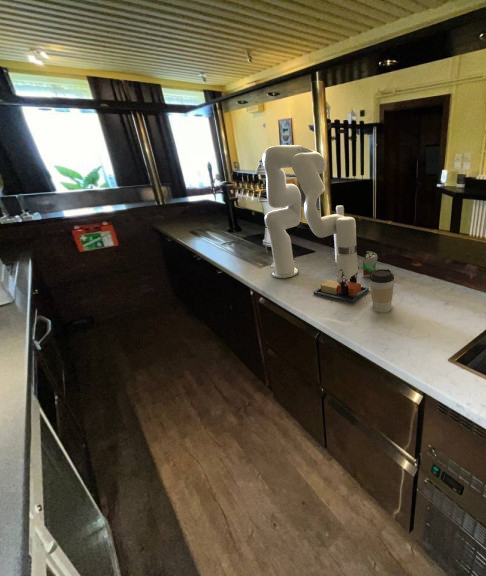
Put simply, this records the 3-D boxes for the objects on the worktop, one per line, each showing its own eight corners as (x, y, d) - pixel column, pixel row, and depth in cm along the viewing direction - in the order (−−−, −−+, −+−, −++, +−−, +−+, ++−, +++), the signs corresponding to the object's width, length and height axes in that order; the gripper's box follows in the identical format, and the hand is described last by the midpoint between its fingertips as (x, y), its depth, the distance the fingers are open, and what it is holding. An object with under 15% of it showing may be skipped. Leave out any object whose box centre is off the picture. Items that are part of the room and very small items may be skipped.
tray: (313, 295, 128) (313, 291, 127) (331, 283, 138) (331, 280, 137) (352, 304, 118) (352, 301, 118) (368, 291, 129) (368, 287, 128)
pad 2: (337, 292, 125) (336, 285, 124) (345, 287, 130) (344, 280, 129) (354, 296, 121) (353, 289, 120) (361, 290, 126) (360, 283, 125)
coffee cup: (378, 316, 110) (377, 278, 103) (365, 306, 117) (364, 270, 111) (398, 309, 113) (399, 272, 107) (385, 300, 121) (385, 265, 114)
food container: (376, 279, 140) (375, 259, 136) (363, 279, 141) (362, 259, 137) (379, 270, 151) (379, 250, 146) (367, 269, 152) (366, 250, 148)
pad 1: (321, 291, 130) (320, 284, 129) (328, 286, 134) (328, 279, 133) (336, 295, 126) (335, 288, 125) (344, 289, 131) (343, 282, 129)
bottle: (333, 264, 161) (329, 207, 149) (339, 259, 168) (335, 204, 155) (347, 265, 159) (343, 207, 146) (352, 260, 165) (350, 204, 152)
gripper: (350, 242, 126) (352, 281, 134) (326, 254, 113) (330, 297, 121) (365, 244, 123) (367, 284, 130) (343, 257, 109) (346, 301, 117)
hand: (349, 290), depth 125 cm, fingers closed on pad 2, 6 cm apart
